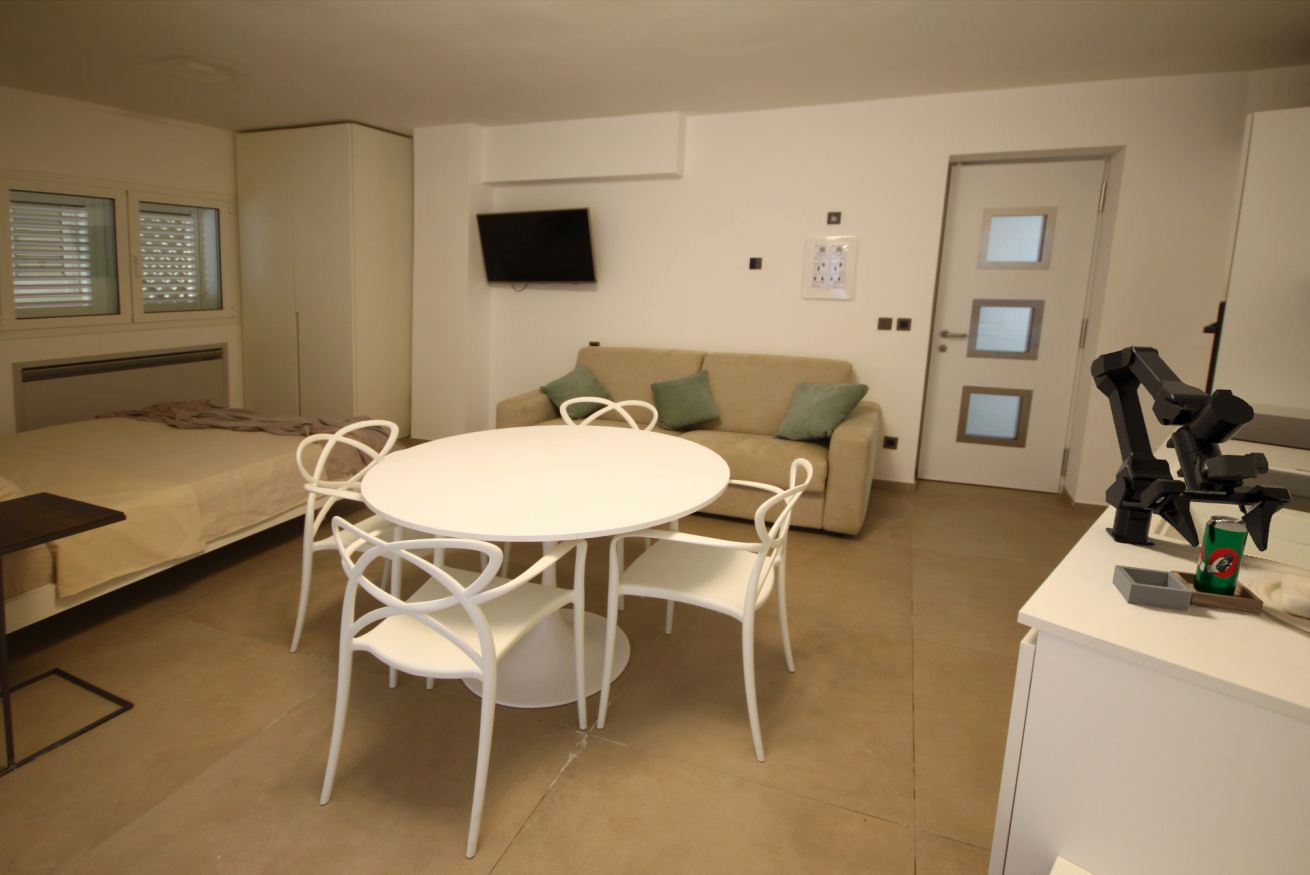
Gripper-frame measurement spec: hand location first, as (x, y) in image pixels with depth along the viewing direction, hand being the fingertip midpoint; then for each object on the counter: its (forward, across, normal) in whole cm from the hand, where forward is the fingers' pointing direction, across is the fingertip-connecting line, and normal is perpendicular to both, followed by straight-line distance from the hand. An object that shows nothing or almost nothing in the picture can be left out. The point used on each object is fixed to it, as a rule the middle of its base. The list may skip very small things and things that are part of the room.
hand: (1229, 548), depth 107 cm
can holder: (+6, -10, +6) cm, 13 cm away
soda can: (+5, 0, +7) cm, 8 cm away
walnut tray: (+5, 0, +7) cm, 9 cm away
